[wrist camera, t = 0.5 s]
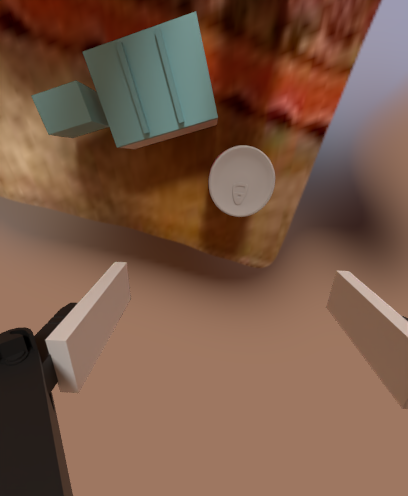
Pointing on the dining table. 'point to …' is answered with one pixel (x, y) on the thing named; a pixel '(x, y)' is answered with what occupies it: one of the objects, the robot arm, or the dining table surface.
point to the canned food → (241, 180)
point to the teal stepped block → (136, 87)
